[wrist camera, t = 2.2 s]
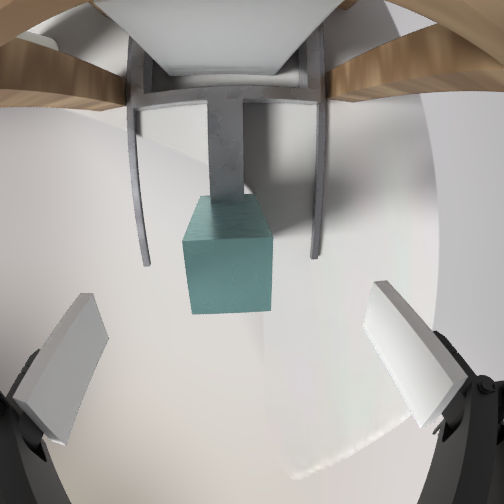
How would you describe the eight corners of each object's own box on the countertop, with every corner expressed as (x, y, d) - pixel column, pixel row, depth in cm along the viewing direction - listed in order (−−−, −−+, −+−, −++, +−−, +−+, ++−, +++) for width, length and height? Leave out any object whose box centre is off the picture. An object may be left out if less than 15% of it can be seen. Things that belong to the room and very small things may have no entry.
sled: (149, -20, 13) (116, -75, 4) (304, -24, 14) (341, -80, 5) (153, 247, 24) (117, 314, 15) (306, 241, 25) (347, 303, 16)
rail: (137, -16, 13) (136, -18, 13) (316, -20, 14) (317, -22, 14) (145, 264, 25) (143, 266, 24) (316, 256, 26) (317, 258, 26)
